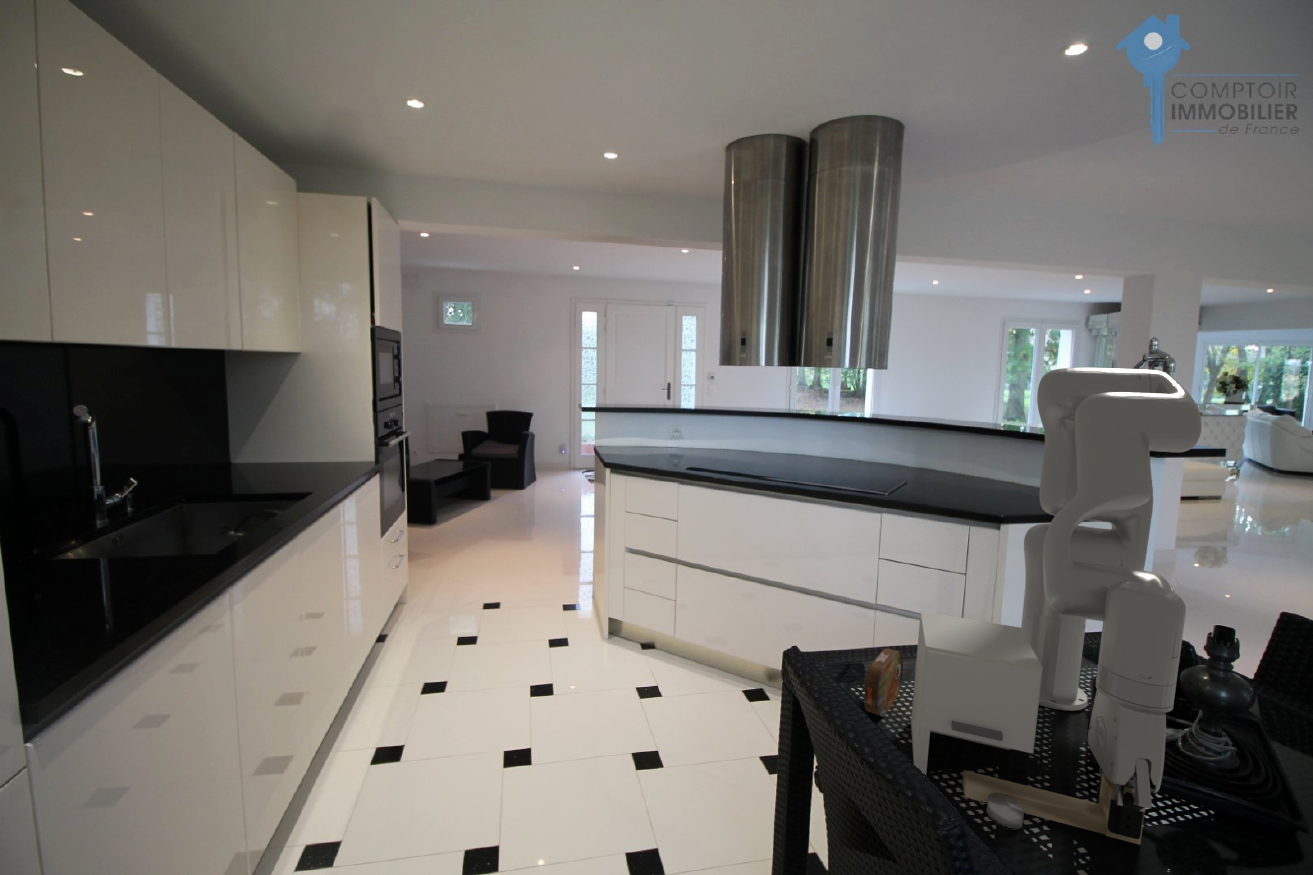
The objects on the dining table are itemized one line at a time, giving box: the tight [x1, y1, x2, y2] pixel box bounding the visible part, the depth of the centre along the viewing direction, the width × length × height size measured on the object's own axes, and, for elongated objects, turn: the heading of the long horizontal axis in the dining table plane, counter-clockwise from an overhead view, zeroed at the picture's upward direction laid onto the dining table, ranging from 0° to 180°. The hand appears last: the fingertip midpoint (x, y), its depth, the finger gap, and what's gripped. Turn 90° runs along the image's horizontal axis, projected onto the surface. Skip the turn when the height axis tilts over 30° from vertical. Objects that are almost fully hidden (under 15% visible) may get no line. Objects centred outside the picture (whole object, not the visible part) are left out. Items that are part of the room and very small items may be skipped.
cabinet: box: [910, 611, 1043, 776], centre depth 86 cm, size 16×14×19 cm
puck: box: [986, 793, 1025, 830], centre depth 76 cm, size 4×4×2 cm
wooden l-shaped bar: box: [961, 769, 1145, 846], centre depth 77 cm, size 4×19×6 cm, turn 69°
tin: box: [863, 648, 904, 717], centre depth 103 cm, size 15×3×8 cm, turn 143°
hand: (1117, 821), depth 75 cm, fingers closed on wooden l-shaped bar, 3 cm apart
